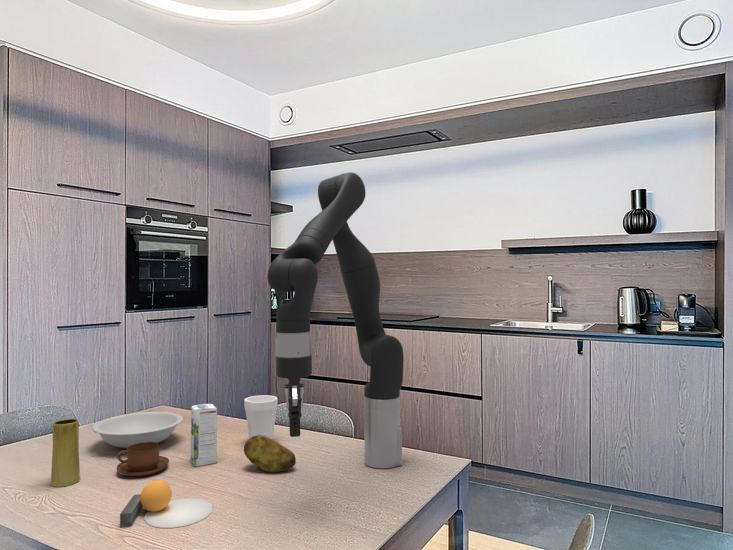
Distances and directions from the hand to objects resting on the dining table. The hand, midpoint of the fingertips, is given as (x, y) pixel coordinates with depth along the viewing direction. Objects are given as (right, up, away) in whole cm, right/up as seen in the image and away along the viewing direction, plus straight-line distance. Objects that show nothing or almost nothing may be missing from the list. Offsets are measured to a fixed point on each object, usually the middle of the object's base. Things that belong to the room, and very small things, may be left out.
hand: (295, 435), depth 108 cm
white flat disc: (-23, -15, -3) cm, 28 cm away
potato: (-9, -15, +21) cm, 27 cm away
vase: (-56, -15, +13) cm, 59 cm away
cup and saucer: (-41, -16, +20) cm, 48 cm away
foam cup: (-16, -15, +41) cm, 47 cm away
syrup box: (-28, -15, +26) cm, 41 cm away
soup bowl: (-51, -16, +41) cm, 67 cm away
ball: (-28, -12, -2) cm, 31 cm away
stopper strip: (-32, -15, -5) cm, 36 cm away
